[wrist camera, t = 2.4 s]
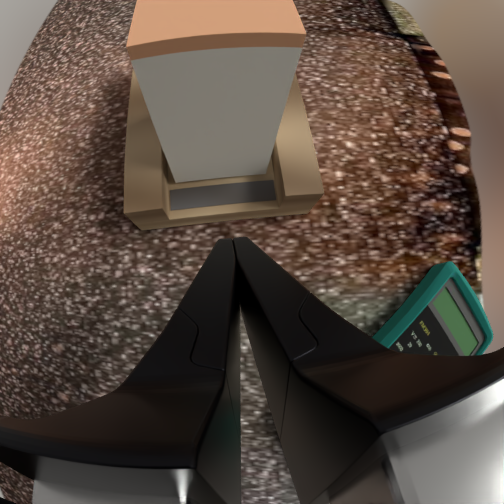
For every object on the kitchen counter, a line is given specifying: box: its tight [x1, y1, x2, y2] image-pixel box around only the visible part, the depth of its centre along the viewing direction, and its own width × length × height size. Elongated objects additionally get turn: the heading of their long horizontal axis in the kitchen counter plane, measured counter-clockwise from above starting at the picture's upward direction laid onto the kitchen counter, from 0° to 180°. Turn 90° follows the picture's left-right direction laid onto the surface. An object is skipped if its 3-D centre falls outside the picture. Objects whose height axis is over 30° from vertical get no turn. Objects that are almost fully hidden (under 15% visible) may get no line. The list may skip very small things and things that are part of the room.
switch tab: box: [126, 0, 306, 183], centre depth 12 cm, size 4×5×10 cm
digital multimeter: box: [372, 262, 493, 356], centre depth 16 cm, size 7×15×3 cm, turn 129°
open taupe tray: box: [124, 68, 324, 230], centre depth 17 cm, size 13×10×4 cm
